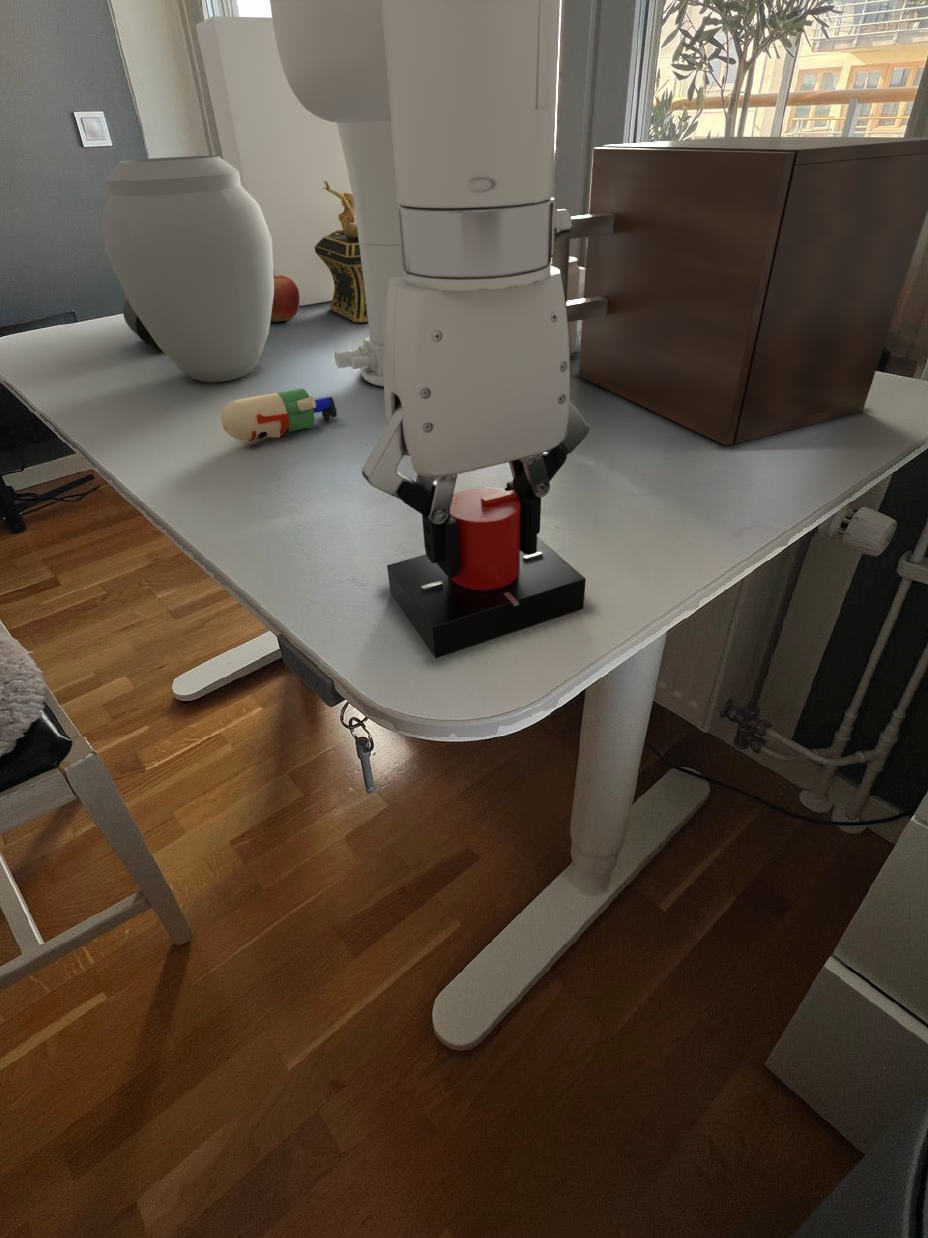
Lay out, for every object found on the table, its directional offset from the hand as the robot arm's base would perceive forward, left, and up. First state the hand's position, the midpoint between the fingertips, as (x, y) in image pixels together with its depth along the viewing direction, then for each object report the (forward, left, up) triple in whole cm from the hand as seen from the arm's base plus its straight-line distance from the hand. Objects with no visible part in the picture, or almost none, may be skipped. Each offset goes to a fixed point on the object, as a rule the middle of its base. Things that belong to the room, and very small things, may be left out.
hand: (483, 553), depth 44 cm
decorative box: (+21, +86, -4) cm, 89 cm away
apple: (+7, +91, -4) cm, 91 cm away
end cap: (-13, +86, -4) cm, 87 cm away
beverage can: (+35, +48, -4) cm, 60 cm away
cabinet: (+43, +25, -4) cm, 50 cm away
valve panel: (0, 0, -4) cm, 4 cm away
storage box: (+17, +106, -4) cm, 107 cm away
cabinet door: (+30, +25, -4) cm, 39 cm away
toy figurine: (-5, +39, -4) cm, 40 cm away
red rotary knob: (0, 0, -1) cm, 1 cm away
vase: (-7, +65, -4) cm, 66 cm away
